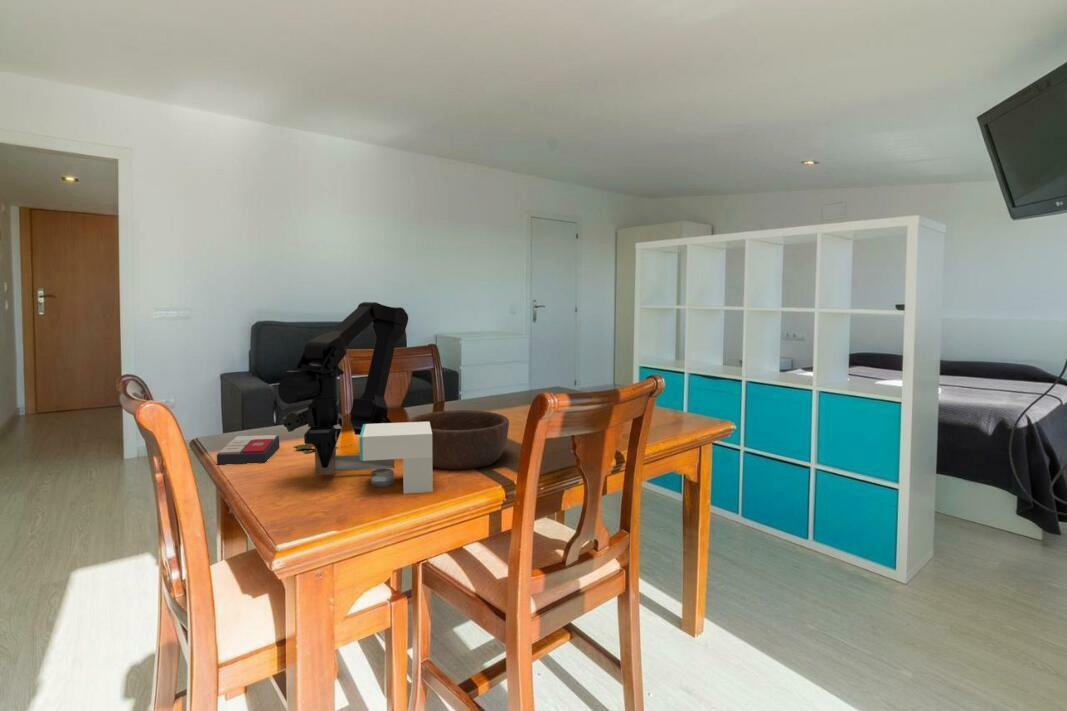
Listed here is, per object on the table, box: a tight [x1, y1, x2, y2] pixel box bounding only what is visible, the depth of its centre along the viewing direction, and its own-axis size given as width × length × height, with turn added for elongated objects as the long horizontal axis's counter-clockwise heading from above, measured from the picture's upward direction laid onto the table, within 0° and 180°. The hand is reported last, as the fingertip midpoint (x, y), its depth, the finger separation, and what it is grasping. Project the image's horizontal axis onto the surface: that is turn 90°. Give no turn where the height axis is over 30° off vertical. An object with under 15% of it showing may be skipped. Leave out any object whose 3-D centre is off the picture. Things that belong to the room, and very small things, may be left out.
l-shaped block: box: [358, 421, 434, 495], centre depth 126 cm, size 12×15×12 cm
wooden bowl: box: [409, 409, 510, 471], centre depth 147 cm, size 25×25×10 cm
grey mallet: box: [314, 444, 395, 476], centre depth 132 cm, size 4×17×7 cm, turn 103°
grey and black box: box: [216, 434, 280, 466], centre depth 148 cm, size 11×4×15 cm
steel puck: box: [370, 468, 395, 489], centre depth 127 cm, size 5×5×3 cm
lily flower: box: [293, 443, 339, 454], centre depth 157 cm, size 12×12×5 cm
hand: (326, 464), depth 131 cm, fingers closed on grey mallet, 4 cm apart
